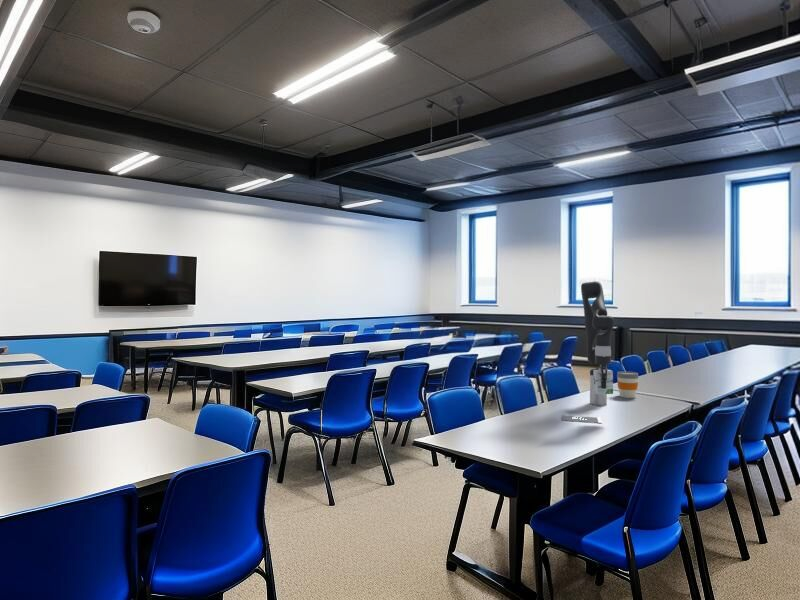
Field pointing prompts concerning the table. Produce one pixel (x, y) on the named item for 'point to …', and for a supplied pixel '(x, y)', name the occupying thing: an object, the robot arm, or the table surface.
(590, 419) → the mat
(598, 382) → the ink box
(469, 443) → the table surface
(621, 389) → the reusable coffee cup
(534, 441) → the table surface
